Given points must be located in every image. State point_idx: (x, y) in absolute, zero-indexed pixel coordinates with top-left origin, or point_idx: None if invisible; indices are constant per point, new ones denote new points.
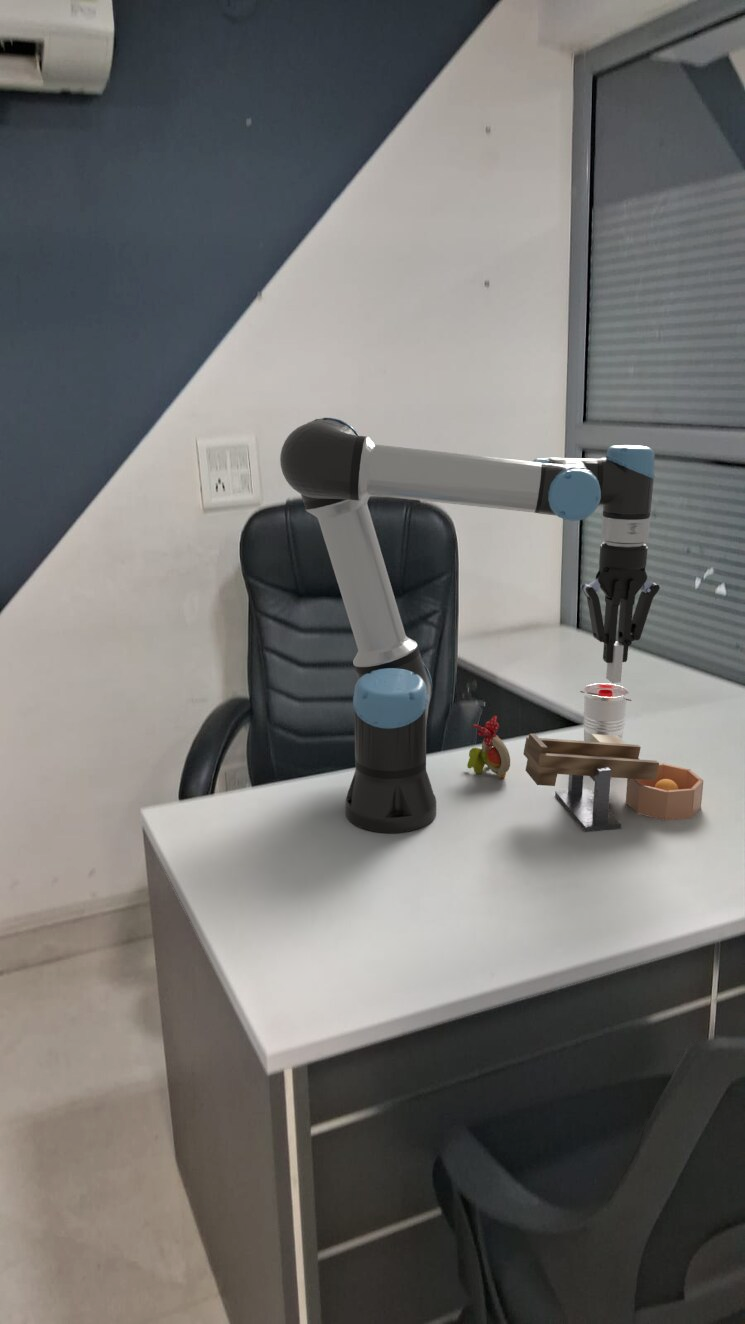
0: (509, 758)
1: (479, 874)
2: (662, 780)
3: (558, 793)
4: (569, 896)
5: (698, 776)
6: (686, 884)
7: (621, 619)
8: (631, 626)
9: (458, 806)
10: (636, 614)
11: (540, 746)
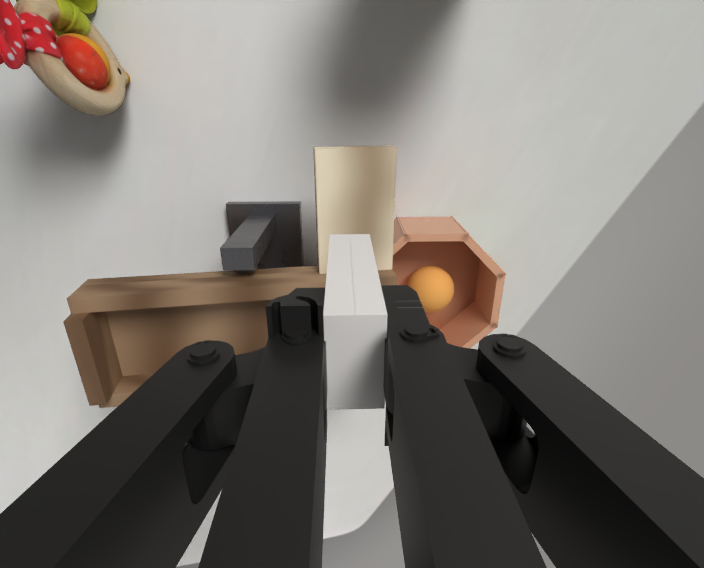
0: (106, 111)
1: (64, 428)
2: (425, 296)
3: (230, 215)
4: None
5: (499, 309)
6: (333, 482)
7: (410, 504)
8: (519, 407)
9: (22, 214)
10: (609, 549)
11: (88, 398)
